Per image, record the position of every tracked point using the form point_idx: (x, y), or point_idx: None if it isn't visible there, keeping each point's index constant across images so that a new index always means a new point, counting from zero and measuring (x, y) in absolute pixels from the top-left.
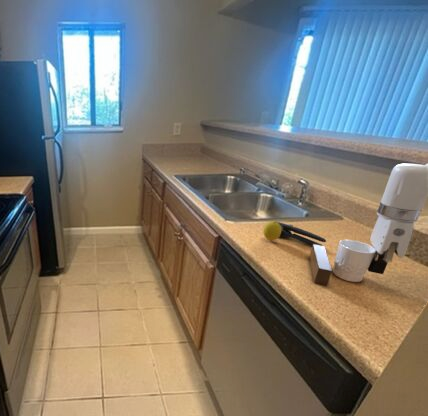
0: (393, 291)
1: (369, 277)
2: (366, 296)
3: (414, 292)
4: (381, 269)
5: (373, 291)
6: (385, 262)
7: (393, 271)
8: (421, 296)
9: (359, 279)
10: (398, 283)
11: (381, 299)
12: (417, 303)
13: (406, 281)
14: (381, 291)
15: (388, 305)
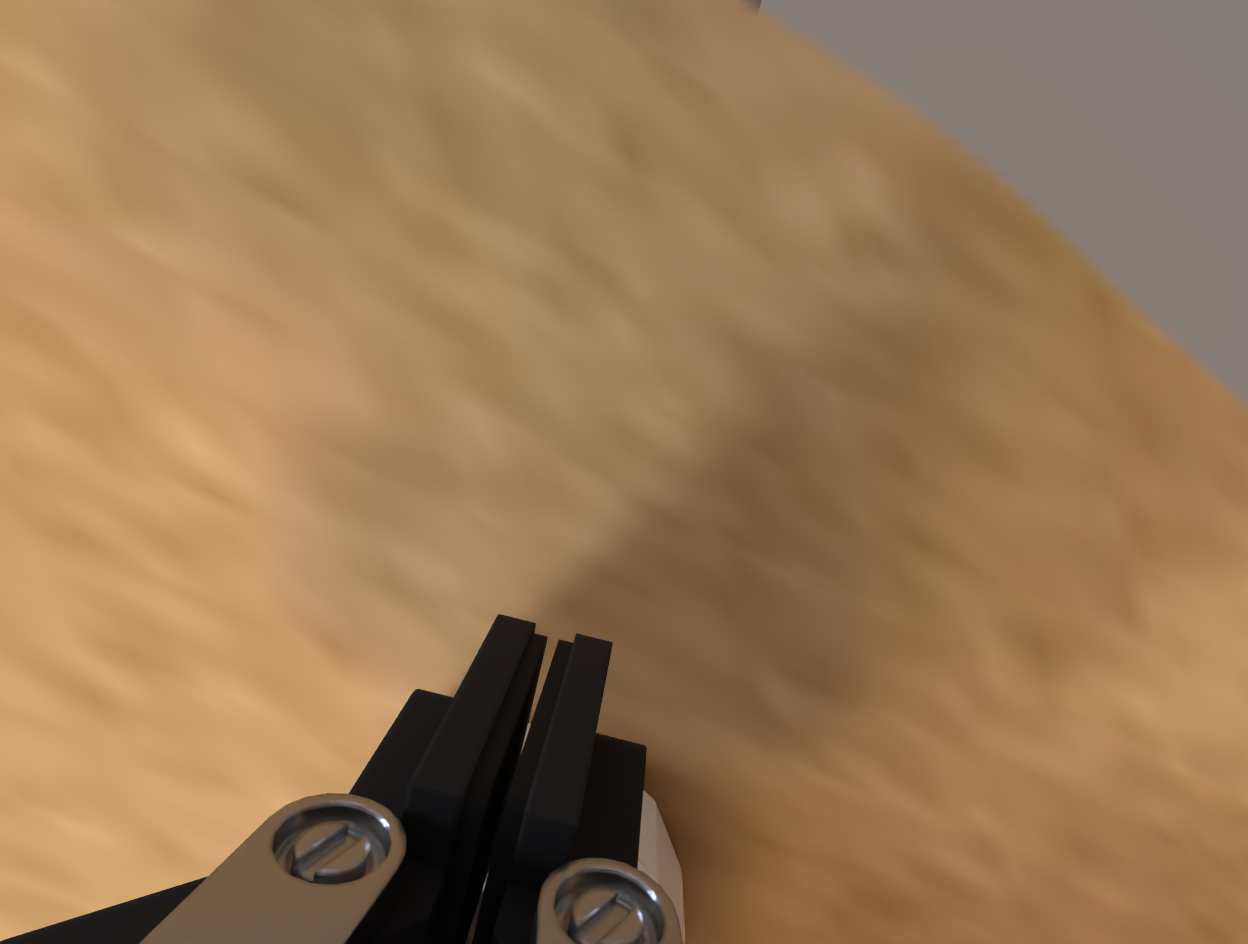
0: (797, 448)
1: (456, 585)
2: (1020, 873)
3: (744, 124)
4: (641, 776)
5: (866, 727)
6: (570, 847)
7: (80, 74)
8: (848, 80)
9: (664, 844)
10: (510, 228)
11: (1060, 727)
12: (1077, 278)
13: (390, 43)
14: (840, 620)
15: (1197, 715)
